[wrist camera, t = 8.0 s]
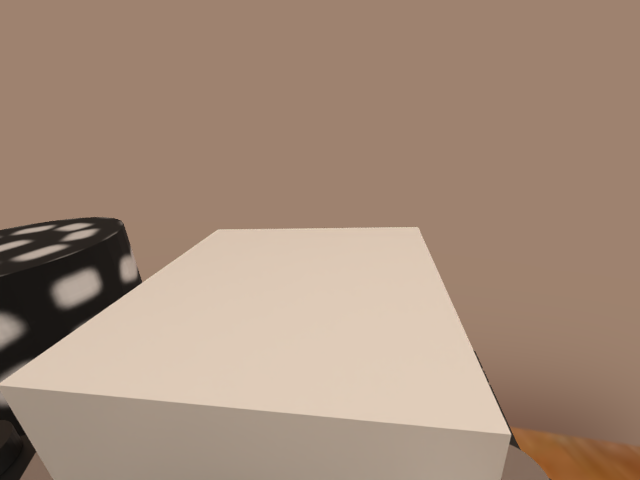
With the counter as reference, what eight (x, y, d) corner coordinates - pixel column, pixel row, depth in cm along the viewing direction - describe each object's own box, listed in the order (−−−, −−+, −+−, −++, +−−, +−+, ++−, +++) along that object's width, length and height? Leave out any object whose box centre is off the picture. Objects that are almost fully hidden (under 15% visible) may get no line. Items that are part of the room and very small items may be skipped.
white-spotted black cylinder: (152, 450, 24) (60, 214, 17) (236, 490, 21) (163, 221, 14) (29, 588, 17) (-214, 282, 10) (126, 678, 14) (-128, 326, 7)
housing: (179, 692, 7) (-4, 384, 4) (261, 448, 13) (218, 229, 9) (434, 761, 6) (511, 435, 3) (404, 465, 12) (418, 227, 8)
